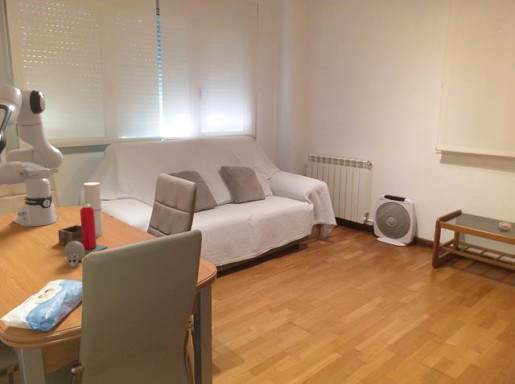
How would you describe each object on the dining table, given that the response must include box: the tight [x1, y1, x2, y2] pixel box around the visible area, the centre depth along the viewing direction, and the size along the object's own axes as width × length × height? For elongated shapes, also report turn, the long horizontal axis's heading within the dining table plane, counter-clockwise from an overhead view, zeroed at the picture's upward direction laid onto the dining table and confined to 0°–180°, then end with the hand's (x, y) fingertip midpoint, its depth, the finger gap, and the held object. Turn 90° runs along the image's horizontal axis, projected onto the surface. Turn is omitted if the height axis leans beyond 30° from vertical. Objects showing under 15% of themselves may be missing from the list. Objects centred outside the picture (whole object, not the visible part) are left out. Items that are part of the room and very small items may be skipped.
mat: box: [84, 243, 108, 256], centre depth 175 cm, size 10×10×1 cm
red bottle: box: [79, 202, 97, 250], centre depth 173 cm, size 5×5×20 cm
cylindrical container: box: [83, 181, 104, 238], centre depth 192 cm, size 7×7×25 cm
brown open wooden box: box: [57, 224, 83, 246], centre depth 184 cm, size 10×10×6 cm
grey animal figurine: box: [64, 241, 86, 269], centre depth 158 cm, size 7×12×8 cm, turn 13°
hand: (53, 168), depth 170 cm, fingers open, 8 cm apart
